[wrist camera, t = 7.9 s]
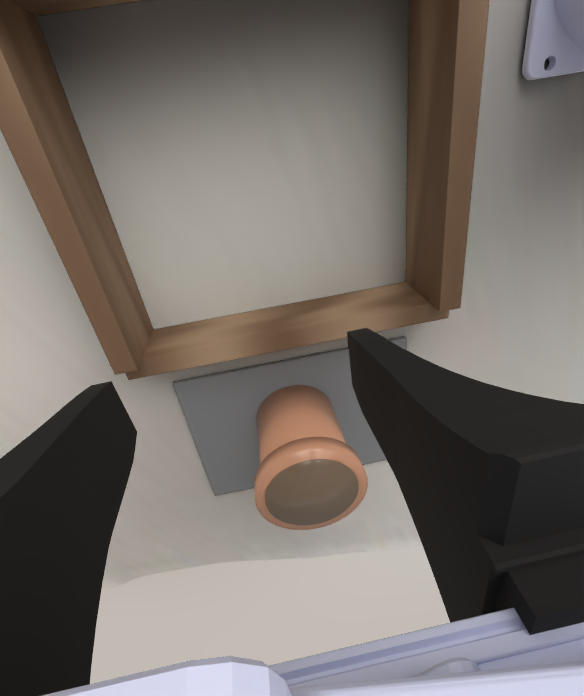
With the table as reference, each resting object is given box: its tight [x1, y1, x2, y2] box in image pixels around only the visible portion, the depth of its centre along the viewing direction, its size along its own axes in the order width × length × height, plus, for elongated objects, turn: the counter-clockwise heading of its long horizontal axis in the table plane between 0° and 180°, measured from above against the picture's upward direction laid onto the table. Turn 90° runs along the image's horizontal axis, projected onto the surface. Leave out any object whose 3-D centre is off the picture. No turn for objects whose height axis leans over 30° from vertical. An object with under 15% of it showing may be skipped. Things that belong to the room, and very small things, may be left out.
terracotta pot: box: [254, 385, 368, 530], centre depth 22 cm, size 6×6×6 cm
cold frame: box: [0, 0, 489, 380], centre depth 15 cm, size 16×15×5 cm
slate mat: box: [173, 337, 406, 496], centre depth 25 cm, size 14×10×1 cm
